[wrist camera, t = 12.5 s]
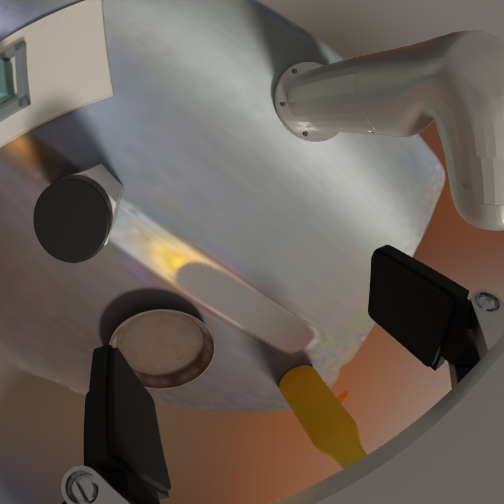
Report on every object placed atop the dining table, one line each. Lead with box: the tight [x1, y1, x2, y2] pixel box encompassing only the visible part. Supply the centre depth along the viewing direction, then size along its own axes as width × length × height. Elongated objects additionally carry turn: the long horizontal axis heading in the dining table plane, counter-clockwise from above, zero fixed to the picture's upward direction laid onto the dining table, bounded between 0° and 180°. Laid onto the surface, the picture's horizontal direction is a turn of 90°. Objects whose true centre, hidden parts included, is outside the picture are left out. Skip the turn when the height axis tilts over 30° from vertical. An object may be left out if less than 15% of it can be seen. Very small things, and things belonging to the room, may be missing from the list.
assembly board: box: [0, 0, 114, 147], centre depth 20 cm, size 22×16×3 cm
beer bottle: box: [279, 365, 367, 469], centre depth 47 cm, size 9×9×29 cm
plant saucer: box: [109, 309, 215, 389], centre depth 43 cm, size 18×18×3 cm
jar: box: [34, 164, 124, 263], centre depth 27 cm, size 9×8×12 cm
